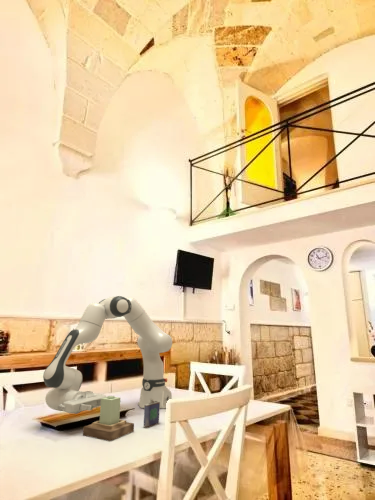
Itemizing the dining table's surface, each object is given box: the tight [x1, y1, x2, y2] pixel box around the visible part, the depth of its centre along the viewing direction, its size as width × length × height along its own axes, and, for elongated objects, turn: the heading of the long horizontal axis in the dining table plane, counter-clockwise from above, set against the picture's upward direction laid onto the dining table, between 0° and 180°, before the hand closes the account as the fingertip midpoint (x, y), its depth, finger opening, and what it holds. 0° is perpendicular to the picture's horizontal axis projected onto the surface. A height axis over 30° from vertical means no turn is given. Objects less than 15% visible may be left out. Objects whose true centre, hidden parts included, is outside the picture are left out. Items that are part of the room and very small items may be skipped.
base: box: [82, 418, 135, 442], centre depth 131 cm, size 14×14×4 cm
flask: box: [143, 398, 160, 429], centre depth 143 cm, size 9×3×11 cm, turn 146°
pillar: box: [99, 395, 121, 425], centre depth 132 cm, size 6×6×11 cm
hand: (99, 405), depth 135 cm, fingers open, 8 cm apart
